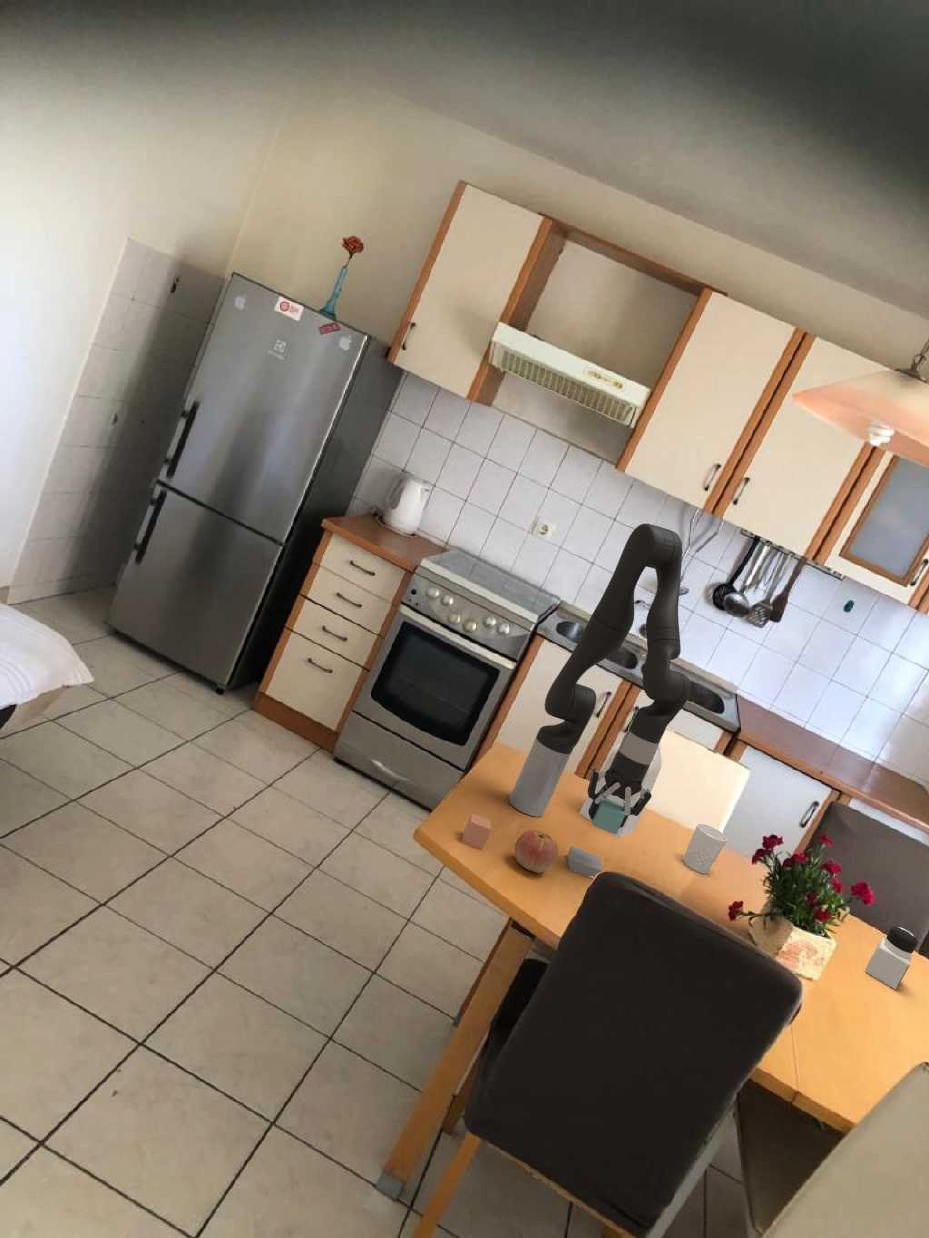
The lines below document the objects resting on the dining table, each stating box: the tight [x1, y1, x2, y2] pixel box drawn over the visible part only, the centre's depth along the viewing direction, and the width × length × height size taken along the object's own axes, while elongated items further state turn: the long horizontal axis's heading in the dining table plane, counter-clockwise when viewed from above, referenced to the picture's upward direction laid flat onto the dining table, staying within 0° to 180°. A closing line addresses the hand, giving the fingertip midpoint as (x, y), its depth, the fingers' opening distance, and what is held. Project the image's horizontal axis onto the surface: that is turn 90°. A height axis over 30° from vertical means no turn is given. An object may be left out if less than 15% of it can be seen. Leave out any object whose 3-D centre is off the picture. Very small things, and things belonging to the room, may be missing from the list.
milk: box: [578, 741, 663, 839], centre depth 243 cm, size 12×12×26 cm
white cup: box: [682, 822, 728, 875], centre depth 239 cm, size 8×8×10 cm
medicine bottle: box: [865, 926, 919, 991], centre depth 219 cm, size 7×7×12 cm
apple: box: [513, 829, 559, 874], centre depth 202 cm, size 9×9×8 cm
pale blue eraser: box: [566, 845, 604, 877], centre depth 212 cm, size 7×7×2 cm
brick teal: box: [590, 798, 625, 835], centre depth 209 cm, size 6×6×5 cm
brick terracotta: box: [461, 812, 492, 851], centre depth 203 cm, size 4×4×5 cm
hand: (603, 822), depth 210 cm, fingers closed on brick teal, 5 cm apart
